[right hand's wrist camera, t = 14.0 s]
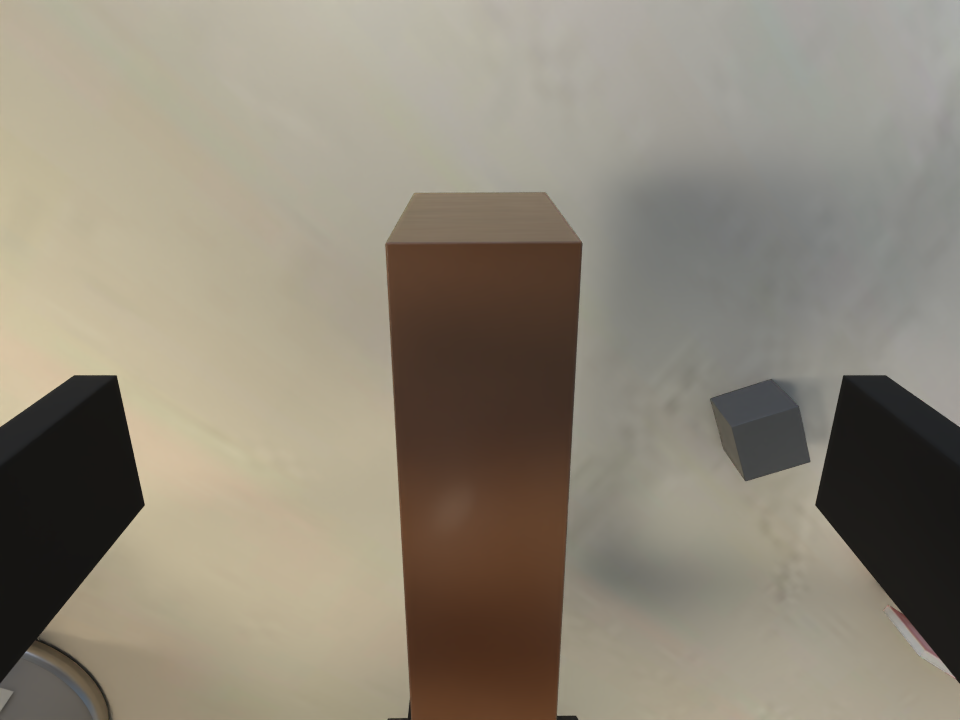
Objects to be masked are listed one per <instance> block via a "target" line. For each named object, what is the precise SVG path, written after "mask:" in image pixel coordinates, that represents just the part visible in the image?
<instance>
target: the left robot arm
mask: <svg viewBox="0 0 960 720" xmlns="http://www.w3.org/2000/svg"><path fill="white" fill-rule="evenodd" d="M0 720H109V717H108V710H107V706H106V703H105V700H104V698H103V695H102V693H101V692H100V690H99V688H98V687H97V685H96V684H95V682H94V681H93V680H92V678H91V677H90V676H89V675H88V674H87V673H86V672H85V671H84V670H83V669H82V668H81V667H80V666H79V665H78V664H76V663H75V662H74V661H73V660H71V659H70V658H69V657H67V656H65V655H64V654H62V653H61V652H59V651H57V650H55V649H54V648H52V647H50V646H48V645H45V644H43V643H41V642H38V641H36V640H35V641H34V642H33V644H32V645H31V646H30V647H29V649H28V650H27V651H26V652H25V654H24V655H23V656H22V657H21V658H20V660H19V661H18V662H17V663H16V665H15V666H14V667H13V668H12V670H11V671H10V672H9V673H8V674H7V676H6V677H5V678H4V679H3V681H2V682H1V683H0ZM388 720H411V703H409V713H408V718H388ZM557 720H578V718H577V717H576V716H557Z"/></svg>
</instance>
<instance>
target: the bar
mask: <svg viewBox="0 0 960 720" xmlns="http://www.w3.org/2000/svg"><path fill="white" fill-rule="evenodd" d="M385 247H386V265H387V283H388V301H389V320H390V338H391V356H392V374H393V393H394V411H395V429H396V447H397V466H398V484H399V502H400V520H401V539H402V557H403V575H404V593H405V612H406V630H407V648H408V666H409V685H410V703H411V720H557V702H558V684H559V665H560V647H561V629H562V610H563V592H564V573H565V555H566V536H567V518H568V500H569V481H570V463H571V444H572V426H573V407H574V389H575V370H576V352H577V334H578V315H579V297H580V278H581V260H582V242H581V240H580V239H579V237H578V236H577V235H576V233H575V232H574V231H573V229H572V228H571V226H570V225H569V224H568V222H567V221H566V220H565V218H564V217H563V216H562V214H561V213H560V211H559V210H558V209H557V207H556V206H555V205H554V203H553V202H552V200H551V199H550V198H549V196H548V195H547V194H546V193H545V192H520V193H414V194H413V196H412V198H411V199H410V201H409V203H408V205H407V207H406V208H405V210H404V212H403V214H402V215H401V217H400V219H399V221H398V222H397V224H396V226H395V228H394V230H393V231H392V233H391V235H390V237H389V238H388V240H387V242H386V244H385Z"/></svg>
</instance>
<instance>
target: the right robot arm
mask: <svg viewBox="0 0 960 720" xmlns="http://www.w3.org/2000/svg"><path fill="white" fill-rule="evenodd" d="M144 505H145V504H144V499H143V495H142V490H141V486H140V481H139V476H138V472H137V467H136V463H135V458H134V453H133V449H132V444H131V440H130V435H129V430H128V426H127V421H126V416H125V412H124V407H123V403H122V398H121V393H120V389H119V384H118V380H117V375H74V376H73V377H71V378H70V379H68V380H67V381H66V382H64V383H63V384H61V385H60V386H58V387H57V388H56V389H54V390H53V391H51V392H50V393H48V394H47V395H46V396H44V397H43V398H41V399H40V400H38V401H37V402H36V403H34V404H33V405H31V406H30V407H28V408H27V409H26V410H24V411H23V412H21V413H20V414H18V415H17V416H16V417H14V418H13V419H11V420H10V421H8V422H7V423H6V424H4V425H3V426H1V427H0V683H1V682H2V681H3V679H4V678H5V677H6V676H7V674H8V673H9V672H10V671H11V670H12V668H13V667H14V666H15V665H16V663H17V662H18V661H19V660H20V658H21V657H22V656H23V655H24V654H25V652H26V651H27V650H28V649H29V647H30V646H31V645H32V644H33V642H34V641H35V640H36V639H37V637H38V636H39V635H40V634H41V633H42V631H43V630H44V629H45V628H46V626H47V625H48V624H49V623H50V621H51V620H52V619H53V618H54V616H55V615H56V614H57V613H58V612H59V610H60V609H61V608H62V607H63V605H64V604H65V603H66V602H67V600H68V599H69V598H70V597H71V595H72V594H73V593H74V592H75V591H76V589H77V588H78V587H79V586H80V584H81V583H82V582H83V581H84V579H85V578H86V577H87V576H88V574H89V573H90V572H91V571H92V570H93V568H94V567H95V566H96V565H97V563H98V562H99V561H100V560H101V558H102V557H103V556H104V555H105V554H106V552H107V551H108V550H109V549H110V547H111V546H112V545H113V544H114V542H115V541H116V540H117V539H118V537H119V536H120V535H121V534H122V533H123V531H124V530H125V529H126V528H127V526H128V525H129V524H130V523H131V521H132V520H133V519H134V518H135V516H136V515H137V514H138V513H139V512H140V510H141V509H142V508H143V507H144ZM815 505H816V507H817V508H818V509H819V510H820V512H821V513H822V514H823V515H824V516H825V518H826V519H827V520H828V521H829V523H830V524H831V525H832V526H833V528H834V529H835V530H836V531H837V533H838V534H839V535H840V536H841V537H842V539H843V540H844V541H845V542H846V544H847V545H848V546H849V547H850V549H851V550H852V551H853V552H854V554H855V555H856V556H857V557H858V558H859V560H860V561H861V562H862V563H863V565H864V566H865V567H866V568H867V570H868V571H869V572H870V573H871V574H872V576H873V577H874V578H875V579H876V581H877V582H878V583H879V584H880V586H881V587H882V588H883V589H884V591H885V592H886V593H887V594H888V595H889V597H890V598H891V599H892V600H893V602H894V603H895V604H896V605H897V607H898V608H899V609H900V610H901V612H902V613H903V614H904V615H905V616H906V618H907V619H908V620H909V621H910V623H911V624H912V625H913V626H914V628H915V629H916V630H917V631H918V633H919V634H920V635H921V636H922V637H923V639H924V640H925V641H926V642H927V644H928V645H929V646H930V647H931V649H932V650H933V651H934V652H935V654H936V655H937V656H938V657H939V658H940V660H941V661H942V662H943V663H944V665H945V666H946V667H947V668H948V670H949V671H950V672H951V673H952V674H953V676H954V677H955V678H956V679H957V681H958V682H959V683H960V427H959V426H957V425H956V424H954V423H953V422H952V421H950V420H949V419H947V418H946V417H944V416H943V415H942V414H940V413H939V412H937V411H936V410H934V409H933V408H932V407H930V406H929V405H927V404H926V403H924V402H923V401H922V400H920V399H919V398H917V397H916V396H914V395H913V394H912V393H910V392H909V391H907V390H906V389H904V388H903V387H902V386H900V385H899V384H897V383H896V382H894V381H893V380H892V379H890V378H889V377H887V376H886V375H843V380H842V384H841V389H840V393H839V398H838V403H837V407H836V412H835V416H834V421H833V426H832V430H831V435H830V440H829V444H828V449H827V453H826V458H825V463H824V467H823V472H822V476H821V481H820V486H819V490H818V495H817V499H816V504H815Z"/></svg>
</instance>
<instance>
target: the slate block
mask: <svg viewBox="0 0 960 720" xmlns="http://www.w3.org/2000/svg"><path fill="white" fill-rule="evenodd" d="M710 400H711V404H712V407H713V411H714V415H715V419H716V422H717V426H718V430H719V434H720V437H721V441H722V445H723V449H724V451H725V452H726V454H727V455H728V456H729V458H730V459H731V461H732V462H733V464H734V465H735V467H736V468H737V470H738V471H739V473H740V474H741V476H742V477H743V479H744V480H745V481H748V480H752V479H755V478H758V477H762V476H765V475H768V474H772V473H775V472H779V471H782V470H785V469H789V468H792V467H795V466H799V465H802V464H805V463H809V462H810V457H809V452H808V448H807V443H806V438H805V433H804V429H803V424H802V419H801V415H800V410H799V406H798V405H797V404H796V403H795V402H794V401H793V400H792V399H791V398H790V397H789V396H788V395H787V394H786V393H785V392H784V391H783V390H782V389H781V388H780V387H779V386H778V385H777V384H776V383H775V382H774V381H773V380H772V379H771V380H768V381H764V382H761V383H758V384H755V385H752V386H749V387H745V388H742V389H739V390H736V391H733V392H730V393H727V394H723V395H720V396H717V397H714V398H711V399H710Z"/></svg>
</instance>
